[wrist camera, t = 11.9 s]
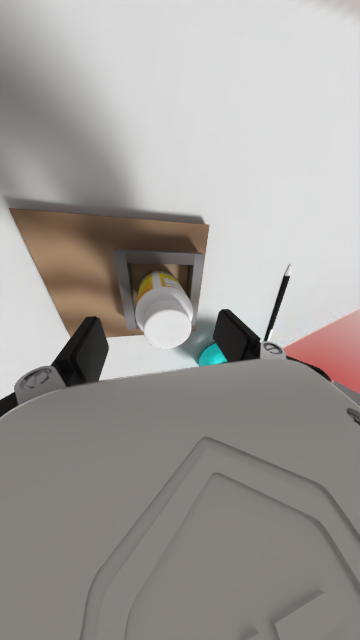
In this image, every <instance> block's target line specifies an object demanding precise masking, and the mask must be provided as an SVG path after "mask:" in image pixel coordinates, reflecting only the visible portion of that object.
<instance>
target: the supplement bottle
mask: <svg viewBox="0 0 360 640" xmlns="http://www.w3.org/2000/svg"><path fill="white" fill-rule="evenodd" d="M135 317H136V322H137V324H138V326H139V328H140V329H141V330H142V331H143V333H144V336H145V338H146V340H147V341H148V342H149V343H150V344H151V345H153V346H155V347H158V348H164V349H167V348H173V347H176V346H178V345H180V344H182V343H183V342H184V341H186V339H187V338H188V337H189V335H190V333H191V321H192V317H193V307H192V304H191V302H190V300H189V298H188V296H187V295H186V293H185V292H184V290H183V288H182V287H181V285H180V284H179V282H178V281H177V279H176V278H175V277H174V276H173V275H172V274H171V273H169V272H167V271H164V270H155V271H152V272H150V273H148V274H147V275H145V276H144V278H143V279H142V281H141V283H140V288H139V293H138V299H137V304H136V310H135Z"/></svg>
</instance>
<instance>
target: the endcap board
mask: <svg viewBox="0 0 360 640" xmlns="http://www.w3.org/2000/svg"><path fill="white" fill-rule="evenodd" d="M9 210H10V212H11V214H12V216H13V218H14V220H15V223H16V225H17V227H18V229H19V231H20V233H21V235H22V237H23V239H24V241H25V243H26V245H27V248H28V250H29V252H30V254H31V256H32V258H33V260H34V262H35V264H36V266H37V268H38V270H39V273H40V275H41V277H42V279H43V281H44V283H45V285H46V287H47V289H48V291H49V293H50V296H51V298H52V300H53V302H54V304H55V306H56V308H57V310H58V312H59V314H60V316H61V318H62V321H63V323H64V325H65V327H66V329H67V331H68V333H69V335H70V337H72V336H73V334H74V333H75V331H76V330H77V329H78V327H79V326H80V325H81V323H82V322H83V320H84V319H85V318H86V317H89V316H96V317H97V318H100V320H101V323H102V327H103V330H104V333H105V336H106V337H120V336H134V335H144V333H143V331H142V330H141V329H140V328H139V326H138V324H137V322H136V317H135V310H136V304H137V299H138V293H139V288H140V283H141V281H142V279H143V278H144V276H145V275H147V274H148V273H150V272H152V271H155V270H164V271H167V272H169V273H171V274H172V275H173V276H174V277H175V278H176V279H177V281H178V282H179V284H180V285H181V287H182V288H183V290H184V292H185V293H186V295H187V296H188V298H189V300H190V302H191V304H192V307H193V317H192V321H191V331H195V326H196V319H197V312H198V304H199V297H200V290H201V282H202V275H203V268H204V260H205V253H206V246H207V238H208V231H209V225H207V224H195V223H182V222H170V221H158V220H146V219H134V218H122V217H110V216H98V215H85V214H73V213H61V212H49V211H37V210H25V209H13V208H9Z"/></svg>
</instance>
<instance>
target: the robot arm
mask: <svg viewBox="0 0 360 640" xmlns="http://www.w3.org/2000/svg"><path fill="white" fill-rule="evenodd" d="M213 339H214V341H215V342H216V344H217V346H218V347H219V349H220V350H221V352H222V353H223V355H224V357H225V358H226V360H227V361H228V362H227V363H220V364H213V365H205V366H198V367H191V368H183V369H176V370H169V371H162V372H155V373H148V374H142V375H135V376H128V377H121V378H114V379H108V380H101V381H99V377H100V374H101V371H102V368H103V365H104V362H105V359H106V356H107V353H108V350H109V346H108V343H107V340H106V336H105V333H104V330H103V327H102V323H101V320H100V318H97V317H96V316H89V317H86V318H85V319H84V320H83V322H82V323H81V325H80V326H79V327H78V329H77V330H76V331H75V333H74V334H73V336H72V337H71V338H70V340H69V341H68V342H67V344H66V345H65V347H64V348H63V349H62V351H61V352H60V353H59V355H58V356H57V358H56V359H55V360H54V362H53V363H52V364H51V366H43V367H39V368H36V369H34V370H32V371H30V372H28V373H26V374H25V375H24V376H22V377H21V378H20V379H19V380H18V381H17V383H16V384H15V387H14V390H15V392H14V393H12V394H10V395H8V396H6V397H5V398H3V399H1V400H0V640H360V394H358V393H356V392H355V391H353V390H351V389H349V388H347V387H345V386H343V385H342V384H340V383H338V382H336V381H333V382H331V380H330V378H329V377H328V375H326V373H324V371H322V370H321V369H319V368H317V367H314V366H312V365H309V364H307V363H304V362H301V361H299V360H296V359H293V358H291V357H288V356H286V355H285V351H284V350H283V348H282V347H280V346H279V345H277V344H275V343H273V342H269V341H264V342H262V343H260V342H259V341H260V338H259V337H258V336H257V335H256V334H255V333H254V332H253V331H252V330H251V329H250V328H249V327H247V326H246V325H245V324H244V323H243V322H242V321H241V320H240V319H239V318H238V317H237V316H236V315H234V314H233V313H232V312H231V311H230V310H229V309H222V310H221V311H220V312H219V314H218V318H217V322H216V326H215V331H214V335H213Z"/></svg>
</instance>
